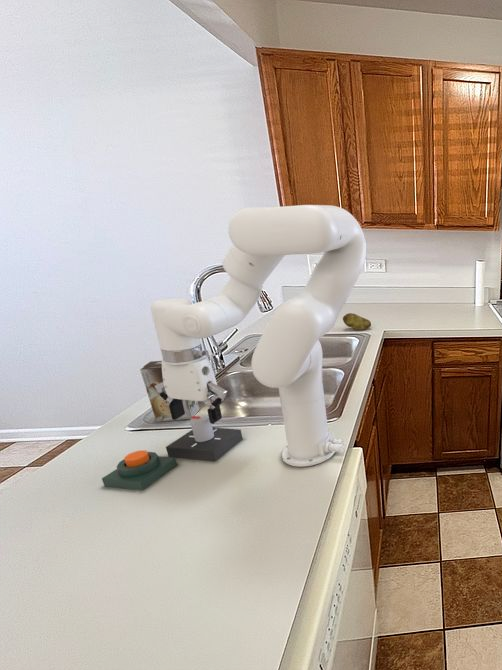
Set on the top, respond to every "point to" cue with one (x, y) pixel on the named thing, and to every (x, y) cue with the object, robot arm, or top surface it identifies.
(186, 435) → the timer panel
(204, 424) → the timer knob
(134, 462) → the button
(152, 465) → the block
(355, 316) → the potato
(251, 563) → the top surface
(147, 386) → the food box
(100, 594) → the top surface
